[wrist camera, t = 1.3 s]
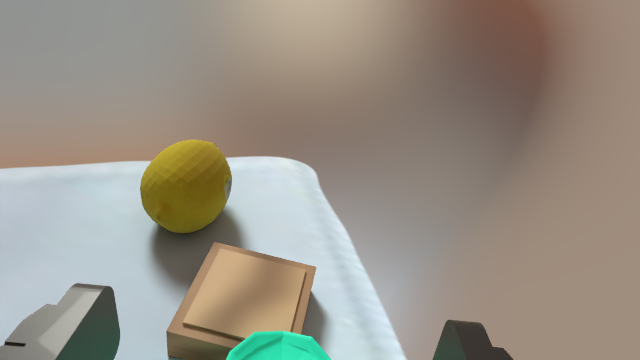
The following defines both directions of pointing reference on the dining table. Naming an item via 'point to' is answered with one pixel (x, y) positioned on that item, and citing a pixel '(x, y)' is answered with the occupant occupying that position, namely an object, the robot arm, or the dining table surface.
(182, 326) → the stand
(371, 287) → the dining table surface
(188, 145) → the lemon
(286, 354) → the candle
